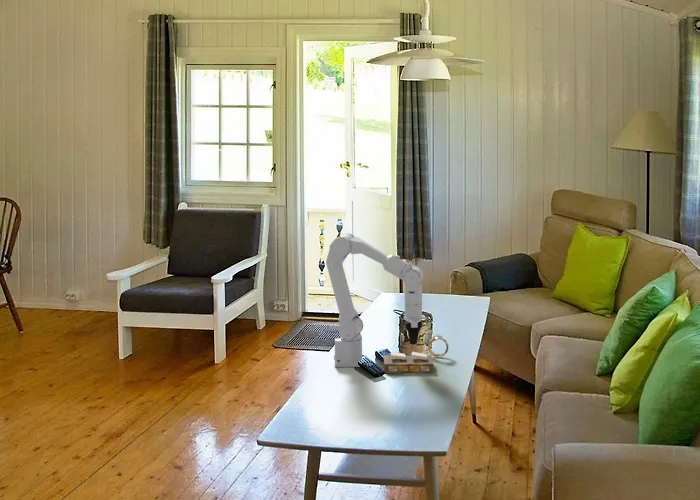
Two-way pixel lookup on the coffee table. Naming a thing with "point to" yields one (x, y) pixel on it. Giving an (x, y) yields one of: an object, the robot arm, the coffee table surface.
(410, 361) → the switch box
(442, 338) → the ring
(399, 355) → the block
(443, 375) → the coffee table surface
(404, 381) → the coffee table surface
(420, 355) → the rocker right
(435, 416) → the coffee table surface
